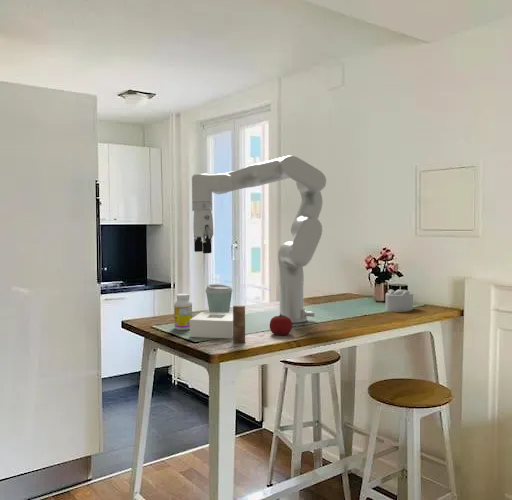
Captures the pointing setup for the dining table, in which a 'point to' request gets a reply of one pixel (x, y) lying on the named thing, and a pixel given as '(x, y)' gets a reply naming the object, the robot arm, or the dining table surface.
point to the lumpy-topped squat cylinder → (399, 301)
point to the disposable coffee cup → (219, 297)
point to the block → (212, 325)
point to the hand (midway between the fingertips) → (202, 252)
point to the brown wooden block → (238, 324)
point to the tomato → (280, 325)
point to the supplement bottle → (182, 312)
